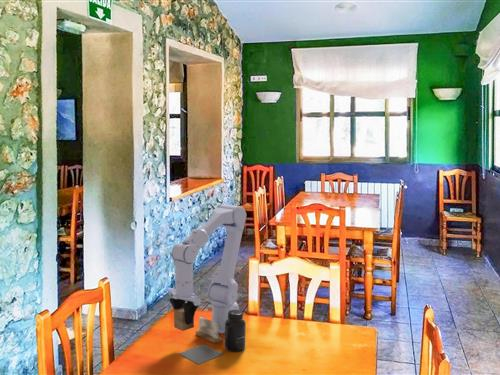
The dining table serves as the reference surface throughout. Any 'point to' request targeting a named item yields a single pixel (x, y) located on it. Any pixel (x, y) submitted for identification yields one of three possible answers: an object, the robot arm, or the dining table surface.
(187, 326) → the walnut block
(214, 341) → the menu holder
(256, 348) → the dining table surface
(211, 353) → the coaster
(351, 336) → the dining table surface
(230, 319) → the supplement bottle
